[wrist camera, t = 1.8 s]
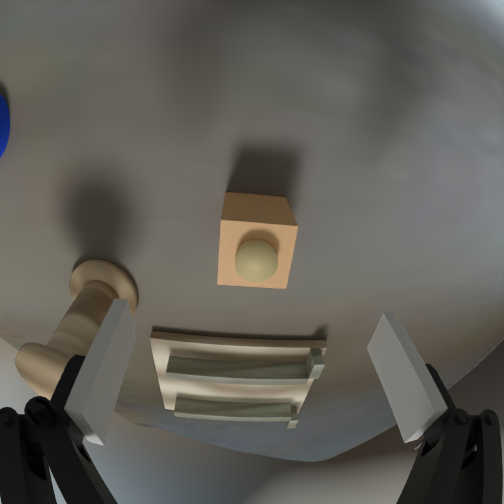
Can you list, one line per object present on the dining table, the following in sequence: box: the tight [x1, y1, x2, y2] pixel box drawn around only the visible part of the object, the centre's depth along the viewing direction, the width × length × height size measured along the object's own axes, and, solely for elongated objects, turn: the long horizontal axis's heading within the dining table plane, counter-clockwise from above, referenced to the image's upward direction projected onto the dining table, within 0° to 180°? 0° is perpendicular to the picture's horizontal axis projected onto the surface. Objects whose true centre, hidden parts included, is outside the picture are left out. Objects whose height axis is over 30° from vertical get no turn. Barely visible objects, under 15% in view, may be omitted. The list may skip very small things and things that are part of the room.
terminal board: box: [150, 331, 327, 428], centre depth 34 cm, size 16×20×4 cm
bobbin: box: [15, 259, 138, 400], centre depth 22 cm, size 8×8×13 cm
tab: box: [217, 192, 298, 289], centre depth 22 cm, size 5×5×7 cm
